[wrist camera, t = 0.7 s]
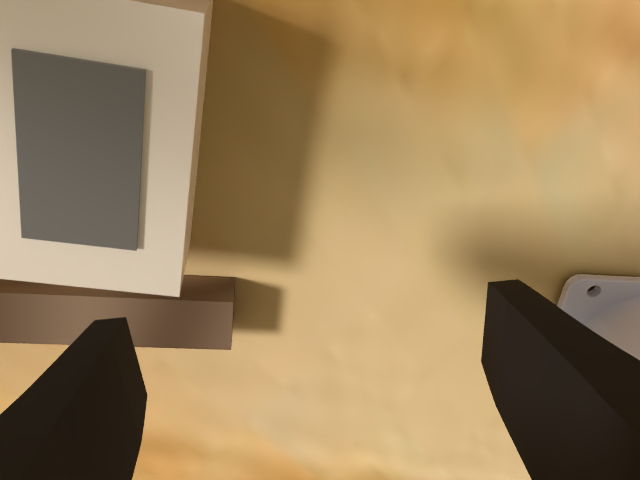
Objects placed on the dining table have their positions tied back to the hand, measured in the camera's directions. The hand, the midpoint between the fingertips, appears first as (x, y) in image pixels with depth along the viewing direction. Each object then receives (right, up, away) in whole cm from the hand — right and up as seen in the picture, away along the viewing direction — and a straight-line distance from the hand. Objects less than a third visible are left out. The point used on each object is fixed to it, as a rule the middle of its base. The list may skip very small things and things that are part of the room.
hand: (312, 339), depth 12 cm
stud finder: (-6, +6, +6) cm, 11 cm away
